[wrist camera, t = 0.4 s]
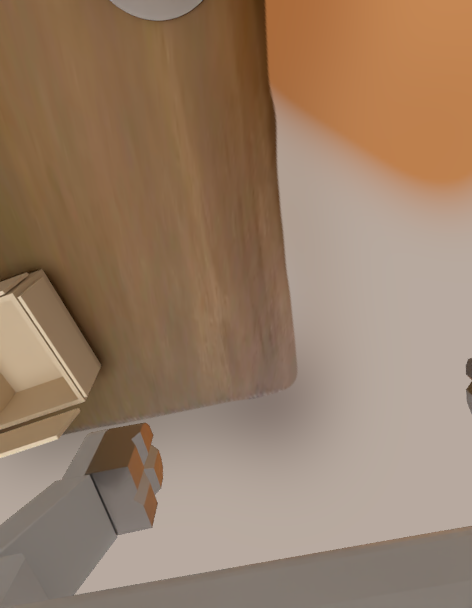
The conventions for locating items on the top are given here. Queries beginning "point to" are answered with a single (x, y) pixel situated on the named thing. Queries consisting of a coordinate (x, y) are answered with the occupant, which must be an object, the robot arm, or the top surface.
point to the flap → (35, 433)
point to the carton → (40, 352)
